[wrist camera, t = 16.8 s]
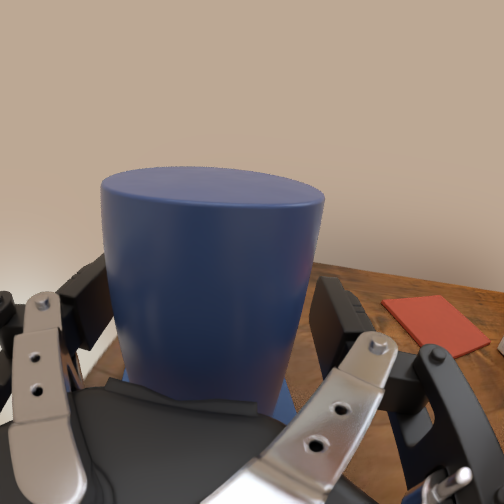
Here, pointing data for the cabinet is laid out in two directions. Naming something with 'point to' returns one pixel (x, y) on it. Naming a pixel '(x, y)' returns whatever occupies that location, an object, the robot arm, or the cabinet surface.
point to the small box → (501, 346)
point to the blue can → (208, 277)
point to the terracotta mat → (436, 324)
